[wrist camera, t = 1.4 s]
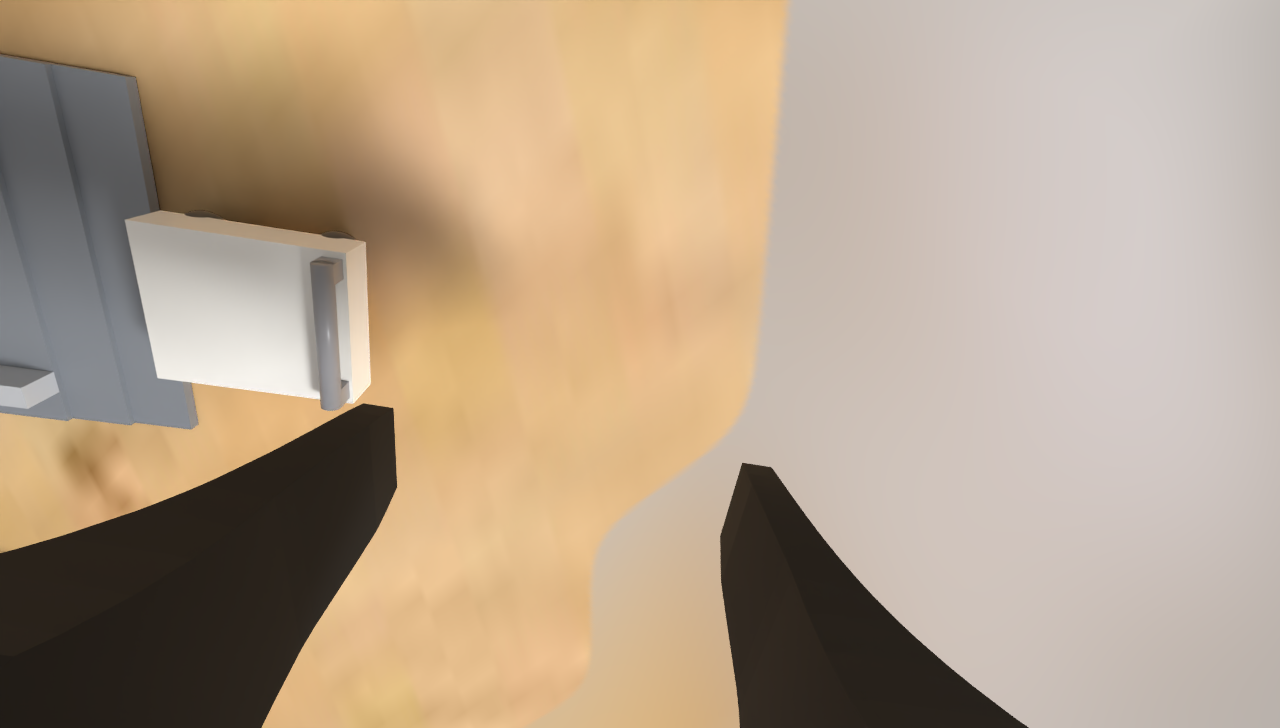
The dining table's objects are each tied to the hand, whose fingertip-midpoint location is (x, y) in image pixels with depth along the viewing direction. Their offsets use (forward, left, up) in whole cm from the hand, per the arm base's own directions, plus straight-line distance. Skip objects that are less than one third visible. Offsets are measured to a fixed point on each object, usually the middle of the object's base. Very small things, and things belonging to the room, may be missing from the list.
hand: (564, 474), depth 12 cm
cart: (-1, +10, -9) cm, 14 cm away
